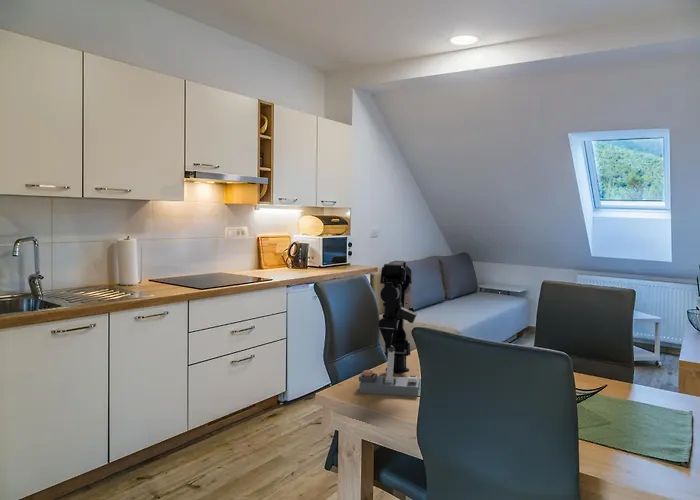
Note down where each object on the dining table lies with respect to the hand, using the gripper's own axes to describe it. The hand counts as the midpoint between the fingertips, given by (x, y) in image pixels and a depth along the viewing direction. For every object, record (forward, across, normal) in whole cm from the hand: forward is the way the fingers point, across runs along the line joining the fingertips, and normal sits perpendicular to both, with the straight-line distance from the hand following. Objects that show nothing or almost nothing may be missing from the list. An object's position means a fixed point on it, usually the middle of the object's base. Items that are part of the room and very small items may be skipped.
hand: (390, 344), depth 178 cm
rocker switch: (+10, -7, -9) cm, 15 cm away
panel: (+14, -7, -2) cm, 15 cm away
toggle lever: (+11, -9, -2) cm, 14 cm away
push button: (+10, -7, +6) cm, 14 cm away
